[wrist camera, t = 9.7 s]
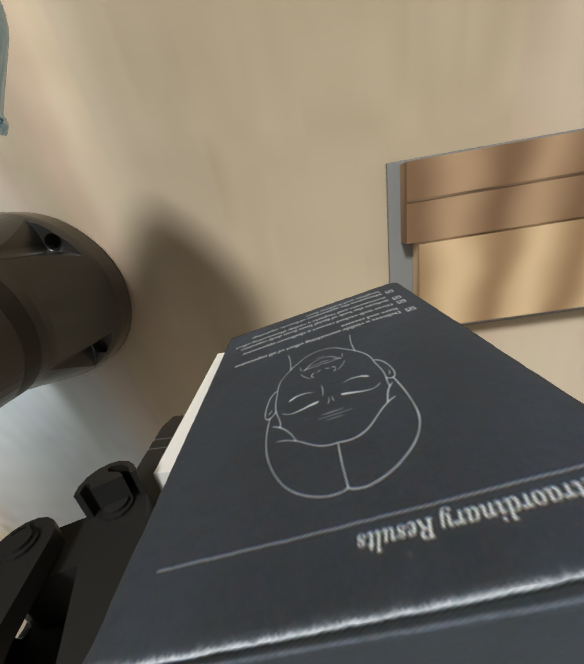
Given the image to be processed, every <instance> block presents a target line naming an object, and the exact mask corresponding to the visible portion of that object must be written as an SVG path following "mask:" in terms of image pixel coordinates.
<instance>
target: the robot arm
mask: <svg viewBox="0 0 584 664" xmlns="http://www.w3.org/2000/svg"><path fill="white" fill-rule="evenodd" d="M8 47H9V28H8V23H7V19H6V14H5V12H4V9H3V6H2V3H1V1H0V135H5V136H6V135H7V134H8V128H9V124H8V121H7V119H6V118H5V116H4V115H3V111H4V98H5V85H6V73H7V60H8ZM130 324H131V303H130V298H129V294H128V291H127V288H126V285H125V283H124V280H123V278H122V276H121V274H120V273H119V271H118V269H117V268H116V266H115V265H114V263H113V262H112V260H111V259H110V258H109V257H108V255H107V254H106V253H105V252H104V251H103V250H102V249H101V248H100V247H99V246H98V245H97V244H96V243H95V242H94V241H93V240H92V239H90V238H89V237H88V236H87V235H85V234H84V233H82V232H81V231H79V230H78V229H76V228H74V227H73V226H71V225H69V224H67V223H65V222H63V221H60V220H58V219H55V218H52V217H49V216H46V215H41V214H36V213H24V212H1V213H0V408H1V407H2V406H4V405H5V404H7V403H8V402H9V401H11V400H12V399H14V398H15V397H17V396H18V395H20V394H22V393H23V392H25V391H26V390H28V389H31V388H35V387H38V386H42V385H45V384H49V383H52V382H55V381H59V380H62V379H66V378H69V377H73V376H76V375H79V374H82V373H85V372H87V371H90V370H92V369H93V368H95V367H97V366H98V365H100V364H101V363H103V362H104V361H105V360H107V359H108V358H109V357H110V356H112V355H113V354H114V353H115V352H116V351H117V350H118V349H119V348H120V347H121V346H122V344H123V343H124V341H125V339H126V337H127V335H128V332H129V328H130ZM224 354H225V353H219V354H217V356H216V358H215V360H214V362H213V364H212V365H211V367H210V369H209V371H208V373H207V375H206V377H205V379H204V380H203V382H202V384H201V386H200V388H199V390H198V392H197V393H196V395H195V397H194V399H193V401H192V403H191V405H190V406H189V408H188V410H187V412H186V414H185V415H183V416H175V417H173V418H172V419H171V420H169V421H168V422H167V423H166V424H165V425H164V426H163V427H162V428H161V430H160V432H159V433H158V435H157V436H156V438H155V441H153V443H152V445H151V446H150V450H148V451H147V453H146V454H145V456H144V458H143V459H142V461H141V463H140V464H139V466H138V467H137V469H136V468H135V466H134V464H132V463H131V462H129V461H118V462H114V463H111V464H108V465H106V466H104V467H102V468H100V469H98V470H97V471H95V472H94V473H93V474H91V475H90V476H89V477H87V478H86V479H85V481H84V482H83V483H82V484H81V485H80V486H79V487H78V489H77V491H76V493H75V495H74V498H75V499H76V501H77V502H78V504H79V505H80V507H81V509H82V510H83V512H84V513H85V515H86V516H87V517H86V518H84V519H81V520H78V521H76V522H73V523H71V524H68V525H65V526H63V527H60V528H59V526H58V525H57V524H56V522H55V521H54V520H53V519H51V518H49V517H43V518H37V519H35V520H32V521H30V522H27V523H25V524H24V525H22V526H20V527H19V528H17V529H15V530H14V531H12V532H11V533H10V534H9V535H8V536H6V537H5V538H4V539H3V540H2V541H0V664H82V663H83V661H84V659H85V658H86V656H87V654H88V652H89V650H90V649H91V647H92V645H93V642H94V640H95V638H96V636H97V634H98V632H99V630H100V628H101V626H102V624H103V622H104V619H105V616H106V614H107V611H108V609H109V606H110V603H111V601H112V599H113V597H114V594H115V592H116V590H117V588H118V586H119V584H120V581H121V579H122V577H123V575H124V573H125V570H126V568H127V566H128V563H129V561H130V559H131V557H132V555H133V552H134V550H135V548H136V546H137V544H138V542H139V540H140V538H141V536H142V534H143V532H144V530H145V527H146V525H147V523H148V521H149V518H150V516H151V514H152V511H153V509H154V507H155V505H156V504H157V500H158V498H159V495H160V493H161V491H162V489H163V487H164V485H165V483H166V481H167V478H168V476H169V474H170V471H171V469H172V467H173V465H174V463H175V461H176V458H177V456H178V454H179V452H180V450H181V447H182V446H183V444H184V441H185V439H186V436H187V434H188V432H189V430H190V428H191V425H192V424H193V422H194V420H195V417H196V415H197V413H198V411H199V408H200V406H201V404H202V402H203V400H204V397H205V395H206V393H207V391H208V388H209V386H210V385H211V382H212V380H213V378H214V375H215V373H216V371H217V369H218V367H219V365H220V362H221V360H222V358H223V355H224ZM24 619H25V620H26V621H27V623H26V626H25V627H24V629H23V631H22V632H21V634H20V635H19V637H18V638H15V636H16V634H17V632H18V631H19V628H20V627H21V625H22V623H23V621H24Z"/></svg>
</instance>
